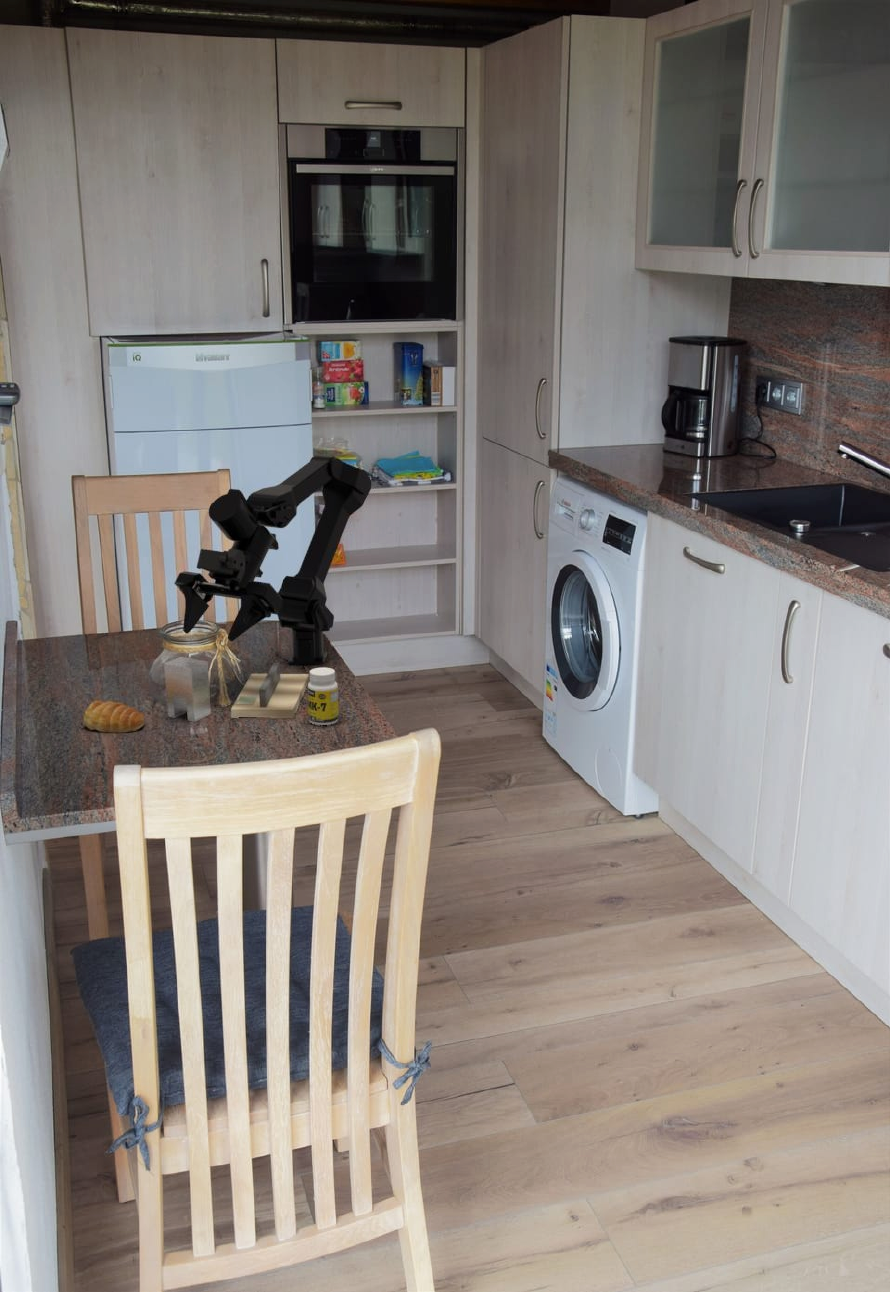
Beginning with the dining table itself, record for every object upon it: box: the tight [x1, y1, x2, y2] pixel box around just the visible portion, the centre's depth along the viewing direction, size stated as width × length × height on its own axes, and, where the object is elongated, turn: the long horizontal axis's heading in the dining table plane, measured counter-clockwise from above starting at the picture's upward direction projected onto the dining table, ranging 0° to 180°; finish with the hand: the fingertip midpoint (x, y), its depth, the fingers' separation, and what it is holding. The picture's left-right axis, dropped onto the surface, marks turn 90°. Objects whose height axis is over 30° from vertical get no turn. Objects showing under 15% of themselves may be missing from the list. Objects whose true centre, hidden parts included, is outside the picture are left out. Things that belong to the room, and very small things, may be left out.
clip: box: [163, 656, 212, 723], centre depth 190 cm, size 4×6×9 cm
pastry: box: [83, 700, 146, 734], centre depth 187 cm, size 9×7×4 cm
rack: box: [230, 662, 310, 719], centre depth 198 cm, size 18×10×4 cm, turn 178°
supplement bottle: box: [307, 667, 339, 727], centre depth 188 cm, size 5×5×8 cm
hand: (207, 636), depth 193 cm, fingers open, 9 cm apart
